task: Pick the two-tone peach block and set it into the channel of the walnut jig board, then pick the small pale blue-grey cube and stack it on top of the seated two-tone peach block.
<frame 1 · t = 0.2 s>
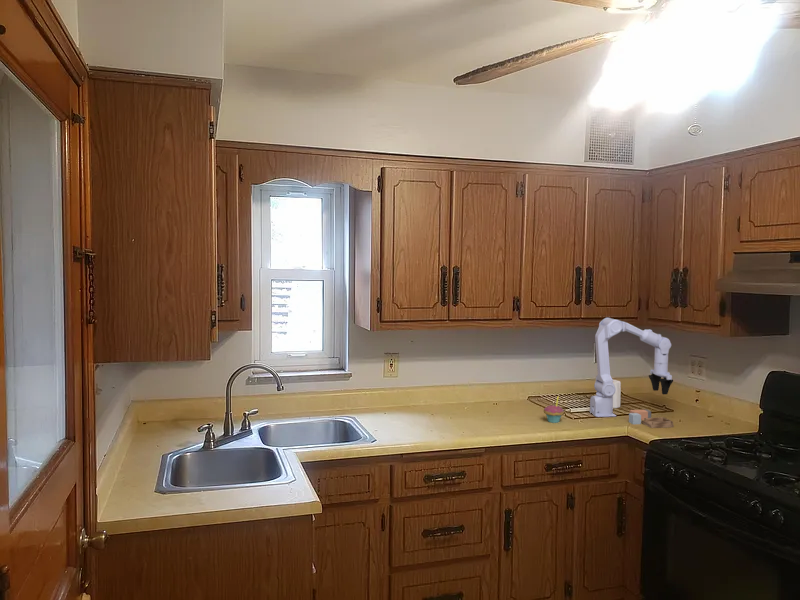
hand: (660, 392, 270), 10 cm above the counter, fingers open, 7 cm apart
two-tone peach block: (640, 418, 262), on the counter
pale blue-grey cube: (634, 423, 255), on the counter
cupcake: (553, 421, 258), on the counter
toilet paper: (609, 406, 286), on the counter
jig: (657, 424, 252), on the counter
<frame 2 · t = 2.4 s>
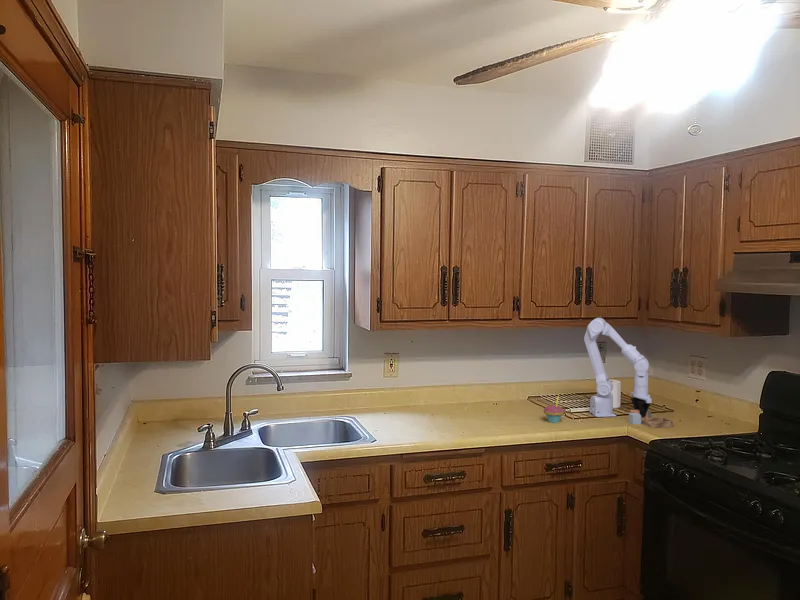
hand: (640, 415, 262), 1 cm above the counter, fingers closed on two-tone peach block, 4 cm apart
two-tone peach block: (640, 418, 262), on the counter, touching gripper
everything else where it was.
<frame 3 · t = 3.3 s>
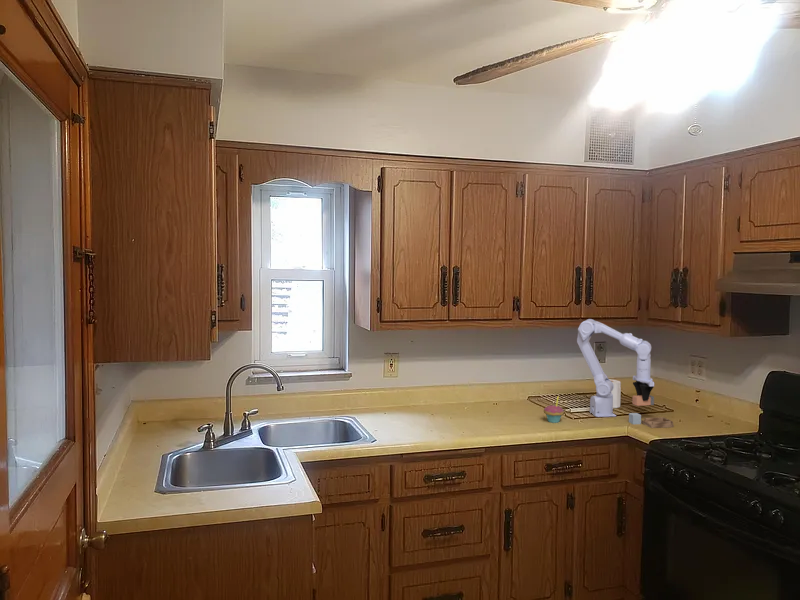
hand: (642, 399, 260), 9 cm above the counter, fingers closed on two-tone peach block, 4 cm apart
two-tone peach block: (643, 404, 260), point 7 cm above the counter, touching gripper
everything else where it was.
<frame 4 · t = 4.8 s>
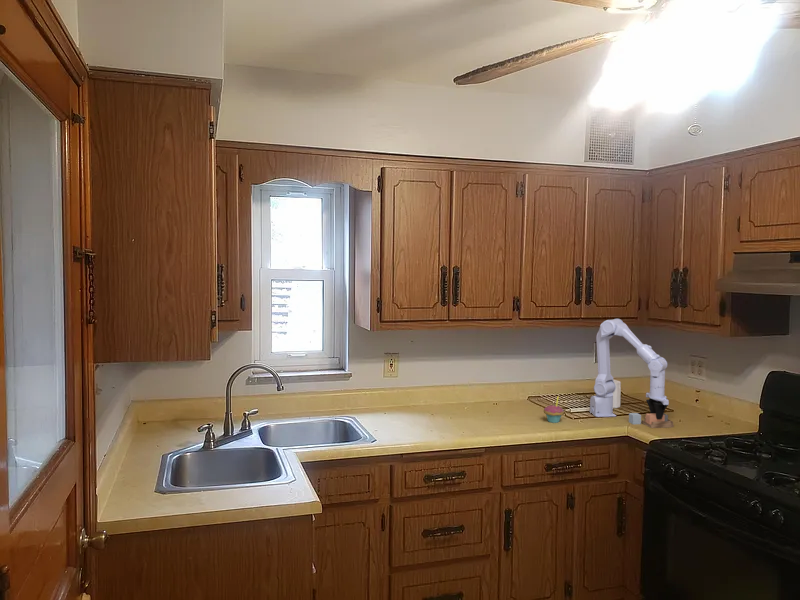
hand: (656, 417, 252), 3 cm above the counter, fingers closed on two-tone peach block, 4 cm apart
two-tone peach block: (656, 422, 252), point 1 cm above the counter, touching gripper, jig
everything else where it was.
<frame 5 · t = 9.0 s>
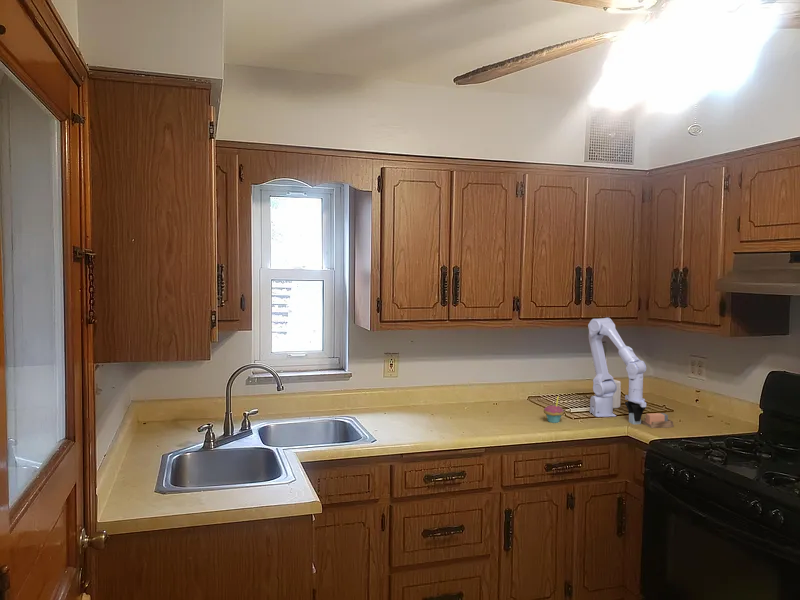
hand: (634, 419, 255), 1 cm above the counter, fingers closed on pale blue-grey cube, 4 cm apart
two-tone peach block: (656, 422, 252), point 1 cm above the counter, touching jig
pale blue-grey cube: (634, 423, 255), on the counter, touching gripper
everything else where it was.
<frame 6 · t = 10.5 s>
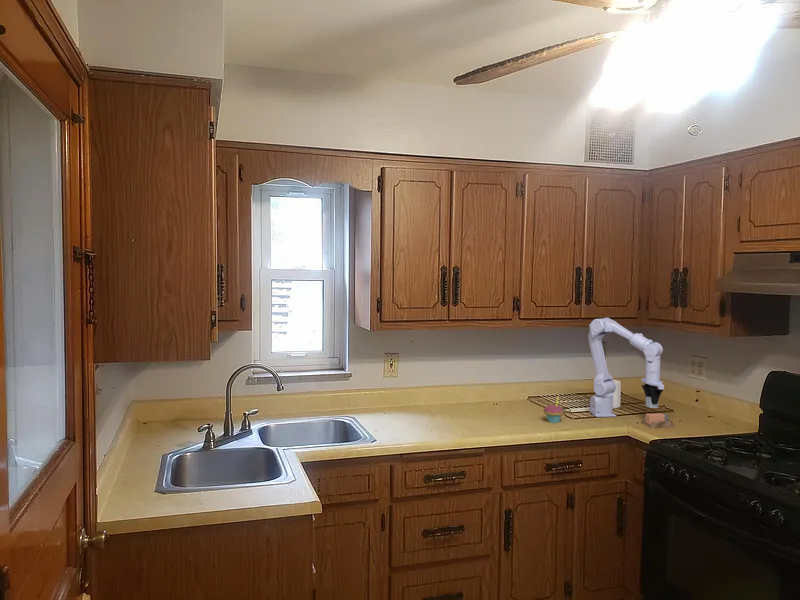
hand: (652, 402, 252), 10 cm above the counter, fingers closed on pale blue-grey cube, 4 cm apart
pale blue-grey cube: (651, 406, 252), point 8 cm above the counter, touching gripper
everything else where it was.
when the fingers open (7 cm above the counter, at t = 12.0 s): pale blue-grey cube stays where it is, resting on two-tone peach block.
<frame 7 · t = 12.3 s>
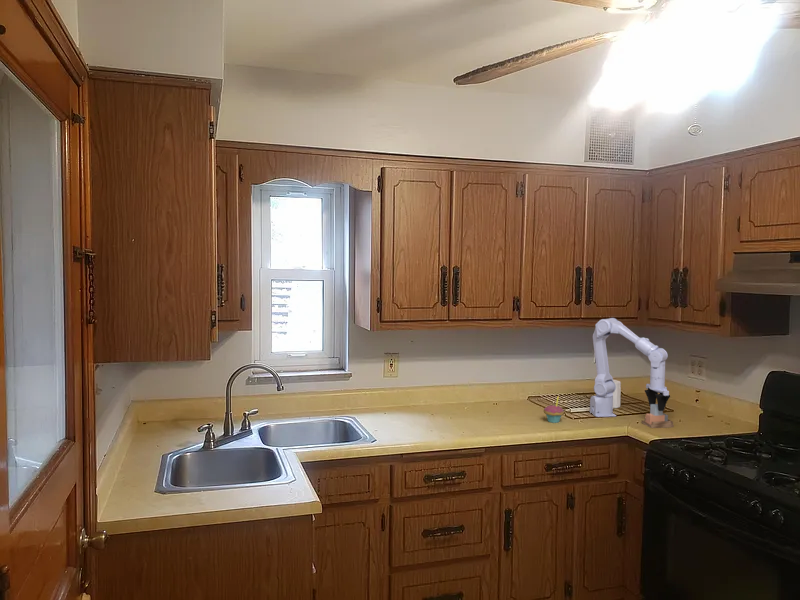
hand: (656, 408, 251), 7 cm above the counter, fingers open, 6 cm apart
two-tone peach block: (656, 422, 252), point 1 cm above the counter, touching pale blue-grey cube, jig
pale blue-grey cube: (656, 414, 252), point 5 cm above the counter, touching two-tone peach block
everything else where it was.
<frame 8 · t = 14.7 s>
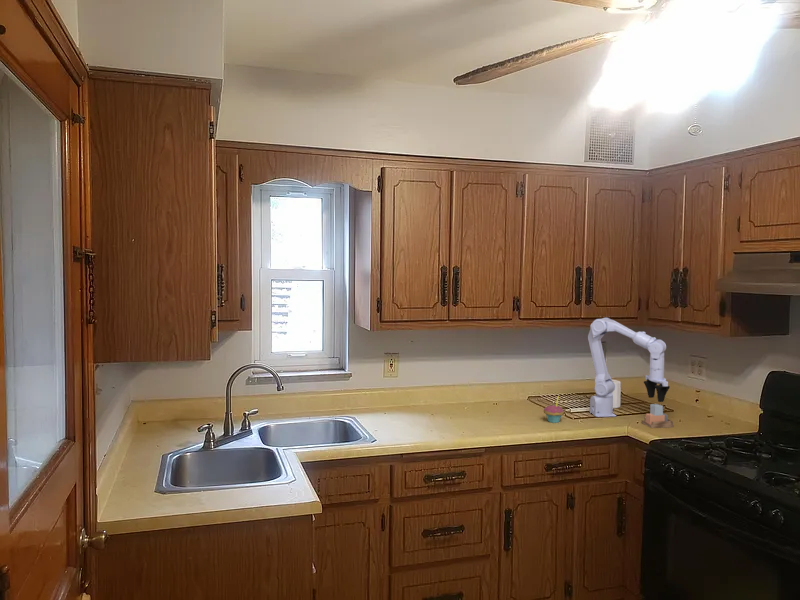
hand: (655, 399, 254), 10 cm above the counter, fingers open, 7 cm apart
nothing on the counter moved.
at the end: two-tone peach block 0.1 cm off-centre on the jig, point 1.0 cm above the jig's base; pale blue-grey cube 0.2 cm off-centre on the two-tone peach block, point 3.6 cm above the two-tone peach block's base; pale blue-grey cube tilted 0° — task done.
